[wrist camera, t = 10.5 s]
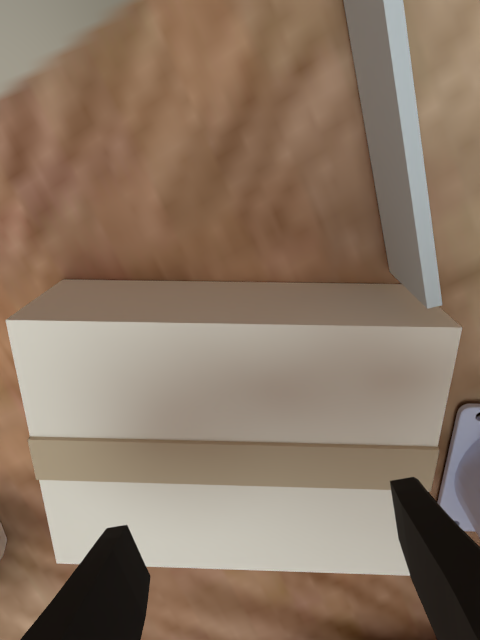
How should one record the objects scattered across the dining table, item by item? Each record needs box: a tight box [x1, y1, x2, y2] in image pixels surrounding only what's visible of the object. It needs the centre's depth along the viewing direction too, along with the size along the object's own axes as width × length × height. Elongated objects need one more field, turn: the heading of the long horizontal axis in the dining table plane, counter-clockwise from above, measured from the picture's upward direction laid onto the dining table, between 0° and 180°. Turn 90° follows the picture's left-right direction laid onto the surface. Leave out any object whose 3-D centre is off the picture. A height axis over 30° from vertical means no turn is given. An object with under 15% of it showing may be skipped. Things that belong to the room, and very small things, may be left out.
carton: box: [6, 279, 462, 576], centre depth 20 cm, size 16×12×5 cm
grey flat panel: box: [343, 0, 442, 309], centre depth 13 cm, size 14×1×9 cm, turn 16°
